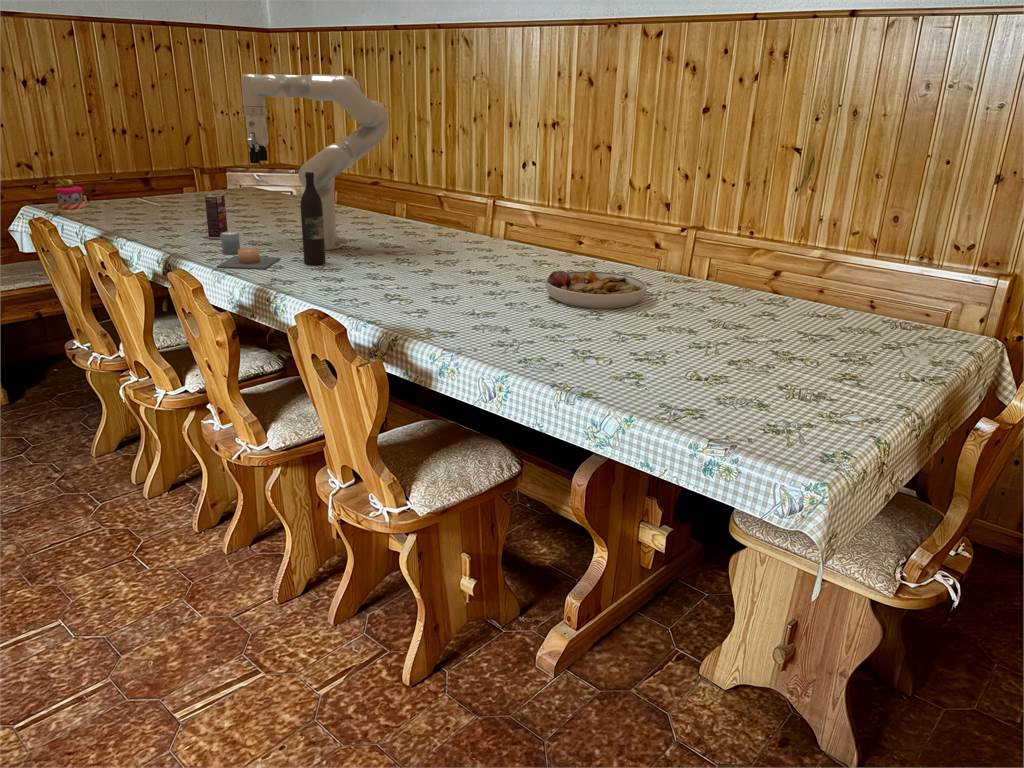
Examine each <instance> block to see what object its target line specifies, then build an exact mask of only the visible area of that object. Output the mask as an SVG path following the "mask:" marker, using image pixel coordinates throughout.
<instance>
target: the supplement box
mask: <svg viewBox="0 0 1024 768" xmlns="http://www.w3.org/2000/svg"><path fill="white" fill-rule="evenodd" d="M225 199H226V197H225V194H216V193H214V194H211V195H207V196H204V201H205V202H204V203H205V212H206V222H207V235H208V239H209V240H221V233H223V232H229V231H228V221H227V211H226V200H225Z"/></svg>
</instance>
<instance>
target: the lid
mask: <svg viewBox="0 0 1024 768" xmlns="http://www.w3.org/2000/svg"><path fill="white" fill-rule="evenodd" d="M259 250H260V249H259V248H258V247H257V248H256V247H243V248H240V249H239V250H238V255H237V256H239V263H243V264H253V263H258V262H260V258H259V257H260V251H259Z"/></svg>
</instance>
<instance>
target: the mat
mask: <svg viewBox="0 0 1024 768" xmlns="http://www.w3.org/2000/svg"><path fill="white" fill-rule="evenodd" d="M259 258H260V262H258V263H253V264H243V263H239V255H234V256H232V257H230V258H228V259H227V260H225V261H223V262H221V263H220V264H217V265H216V269H234V270H235V269H241V270H260V271H261V270H263V271H264V270H267V269H269V268H270V267H272V266H273V265H275V264H276V263H278V262H279V261H280V260H282V258H281V257H271V256H267V257H266V256H259Z"/></svg>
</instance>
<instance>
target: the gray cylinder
mask: <svg viewBox="0 0 1024 768" xmlns="http://www.w3.org/2000/svg"><path fill="white" fill-rule="evenodd" d="M220 241H221V250H222V254H223V255H237V254H238V250H239V249H241V245H240V244H241V243H240V233H239V232H237V231H228V232H223V233H221V239H220Z"/></svg>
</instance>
